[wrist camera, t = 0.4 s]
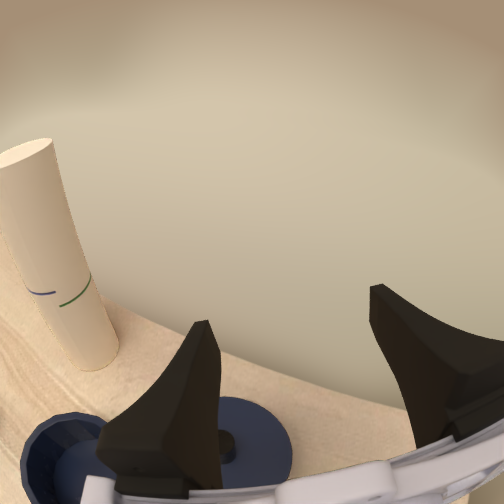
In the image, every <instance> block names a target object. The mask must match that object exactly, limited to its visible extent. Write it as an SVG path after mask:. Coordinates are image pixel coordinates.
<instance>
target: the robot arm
mask: <svg viewBox="0 0 504 504" xmlns="http://www.w3.org/2000/svg"><path fill="white" fill-rule="evenodd" d="M369 322H370V325H371V328H372V330H373V333H374V336H375V338H376V341H377V343H378V345H379V347H380V348H381V351H382V352H383V354H384V356H385V358H386V360H387V362H388V364H389V366H390V368H391V370H392V372H393V374H394V375H395V378H396V380H397V382H398V385H399V388H400V391H401V394H402V397H403V399H404V402H405V406H406V409H407V412H408V416H409V419H410V423H411V427H412V431H413V434H414V439H415V444H416V448H417V449H416V450H414V451H411V452H408V453H405V454H403V455H400V456H397V457H394V458H391V459H388V460H375V461H370V462H365V463H362V464H358V465H354V466H350V467H346V468H342V469H338V470H334V471H329V472H324V473H320V474H315V475H309V476H304V477H299V478H295V479H291V480H287V481H285V482H283V483H281V484H277V485H269V486H260V487H250V488H238V489H223V482H222V474H221V464H220V453H219V437H218V407H219V395H220V383H221V353H220V350H219V347H218V344H217V342H216V339H215V337H214V334H213V332H212V329H211V326H210V324H209V321H208V320H204V321H198V322H195V323H194V324H193V326H192V327H191V329H190V331H189V333H188V334H187V336H186V338H185V340H184V341H183V343H182V345H181V346H180V348H179V349H178V351H177V353H176V354H175V356H174V357H173V359H172V360H171V362H170V363H169V365H168V366H167V368H166V369H165V370H164V372H163V373H162V374H161V376H160V377H159V378H158V379H157V380H156V382H155V383H154V384H153V385H152V386H151V387H150V388H149V389H148V390H147V391H146V392H145V393H144V394H143V395H142V396H141V397H140V398H139V399H138V400H137V401H136V402H135V403H134V404H133V405H131V406H130V407H129V408H128V409H126V410H125V411H124V412H123V413H121V414H120V415H119V416H117V417H116V418H114V419H113V420H111V421H110V422H108V423H107V424H105V425H103V426H102V429H101V432H100V435H99V439H98V443H97V447H96V451H95V454H96V456H97V458H98V459H99V460H100V461H101V462H102V463H103V464H105V465H106V466H107V467H108V468H109V469H111V470H112V471H113V472H115V473H116V474H117V477H116V481H115V480H113V479H110V478H105V477H98V476H92V475H87V477H86V481H85V485H84V489H83V494H82V498H81V503H80V504H449V503H451V502H453V501H455V500H457V499H459V498H461V497H463V496H465V495H466V494H468V493H470V492H472V491H473V490H475V489H477V488H479V487H480V486H482V485H484V484H485V483H487V482H488V481H490V480H492V479H493V478H495V477H496V476H498V475H499V474H501V473H502V472H504V341H500V340H495V339H489V338H485V337H481V336H477V335H474V334H471V333H468V332H465V331H462V330H460V329H457V328H455V327H452V326H450V325H448V324H445V323H444V322H441V321H439V320H437V319H436V318H434V317H432V316H430V315H428V314H427V313H425V312H423V311H422V310H420V309H418V308H417V307H415V306H414V305H412V304H411V303H409V302H408V301H406V300H405V299H403V298H402V297H401V296H399V295H398V294H396V293H395V292H394V291H392V290H391V289H390V288H388V287H387V286H385V285H384V284H379V285H375V286H370V314H369Z"/></svg>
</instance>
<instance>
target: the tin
mask: <svg viewBox="0 0 504 504" xmlns="http://www.w3.org/2000/svg"><path fill="white" fill-rule="evenodd" d="M105 424H107V422H106V421H104V420H103V419H101V418H100V417H98V416H94V415H89V414H84V413H80V412H72V413H66V414H59V415H55V416H53V417H51V418H50V419H48V420H46V421H45V422H43V423H41V424H40V425H38V426H37V427H36V429H35V430H34V431H33V433H32V434H31V435H30V437H29V438H28V439H27V441H26V442H25V445H24V449H23V452H22V456H21V460H20V470H21V479H22V486H23V488H24V490H25V492H26V494H27V496H28V498H29V500H30V502H31V504H80V503H81V498H82V494H83V489H84V485H85V481H86V477H87V475H92V476H98V477H105V478H110V479H113V480H115V481H116V477H117V474H116V473H115V472H113V471H112V470H111V469H109V468H108V467H107V466H106V465H105V464H103V463H102V462H101V461H100V460H99V459H98V458H97V456H96V454H95V451H96V447H97V443H98V439H99V435H100V432H101V429H102V426H103V425H105Z"/></svg>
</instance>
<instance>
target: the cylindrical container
mask: <svg viewBox="0 0 504 504" xmlns="http://www.w3.org/2000/svg"><path fill="white" fill-rule="evenodd" d="M0 230H1V233H2V235H3V238H4V240H5V243H6V245H7V247H8V250H9V252H10V254H11V256H12V259H13V261H14V263H15V265H16V267H17V269H18V271H19V274H20V276H21V278H22V280H23V282H24V284H25V286H26V287H27V290H28V291H29V293H30V295H31V297H32V299H33V301H34V303H35V304H36V306H37V308H38V310H39V312H40V313H41V315H42V317H43V319H44V320H45V322H46V324H47V325H48V327H49V329H50V330H51V332H52V334H53V335H54V337H55V338H56V340H57V342H58V343H59V345H60V346H61V348H62V349H63V351H64V352H65V354H66V355H67V357H68V358H69V360H70V361H71V363H72V364H73V365H74V366H75V367H76V368H78V369H80V370H82V371H96V370H99V369H102V368H104V367H105V366H107V365H108V364H109V363H111V362H112V361H113V359H114V358H115V356H116V355H117V353H118V349H119V340H118V337H117V335H116V333H115V331H114V329H113V326H112V324H111V322H110V320H109V317H108V315H107V313H106V310H105V308H104V306H103V303H102V301H101V298H100V296H99V293H98V291H97V288H96V286H95V283H94V281H93V278H92V275H91V273H90V270H89V267H88V265H87V262H86V259H85V256H84V253H83V250H82V248H81V245H80V242H79V239H78V236H77V232H76V229H75V226H74V223H73V220H72V216H71V213H70V209H69V206H68V203H67V199H66V195H65V192H64V188H63V184H62V180H61V176H60V172H59V168H58V163H57V159H56V155H55V150H54V146H53V140H52V139H51V138H42V139H37V140H33V141H29V142H26V143H23V144H20V145H18V146H15V147H13V148H11V149H9V150H6V151H4V152H3V153H1V154H0Z"/></svg>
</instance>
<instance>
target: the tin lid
mask: <svg viewBox="0 0 504 504" xmlns="http://www.w3.org/2000/svg"><path fill="white" fill-rule="evenodd" d="M218 437H219V453H220V464H221V474H222V482H223V489H238V488H250V487H260V486H269V485H277V484H281V483H283V482H285V481H286V480H287V478H288V476H289V472H290V469H291V464H292V448H291V443H290V440H289V437H288V435H287V432H286V430H285V429H284V427H283V426H282V424H281V423H280V422H279V421H278V419H277V418H276V417H275V416H274V415H272V414H271V413H270V412H269V411H267V410H266V409H265V408H263V407H261V406H259V405H257V404H255V403H253V402H250V401H247V400H244V399H240V398H234V397H219V407H218Z"/></svg>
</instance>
